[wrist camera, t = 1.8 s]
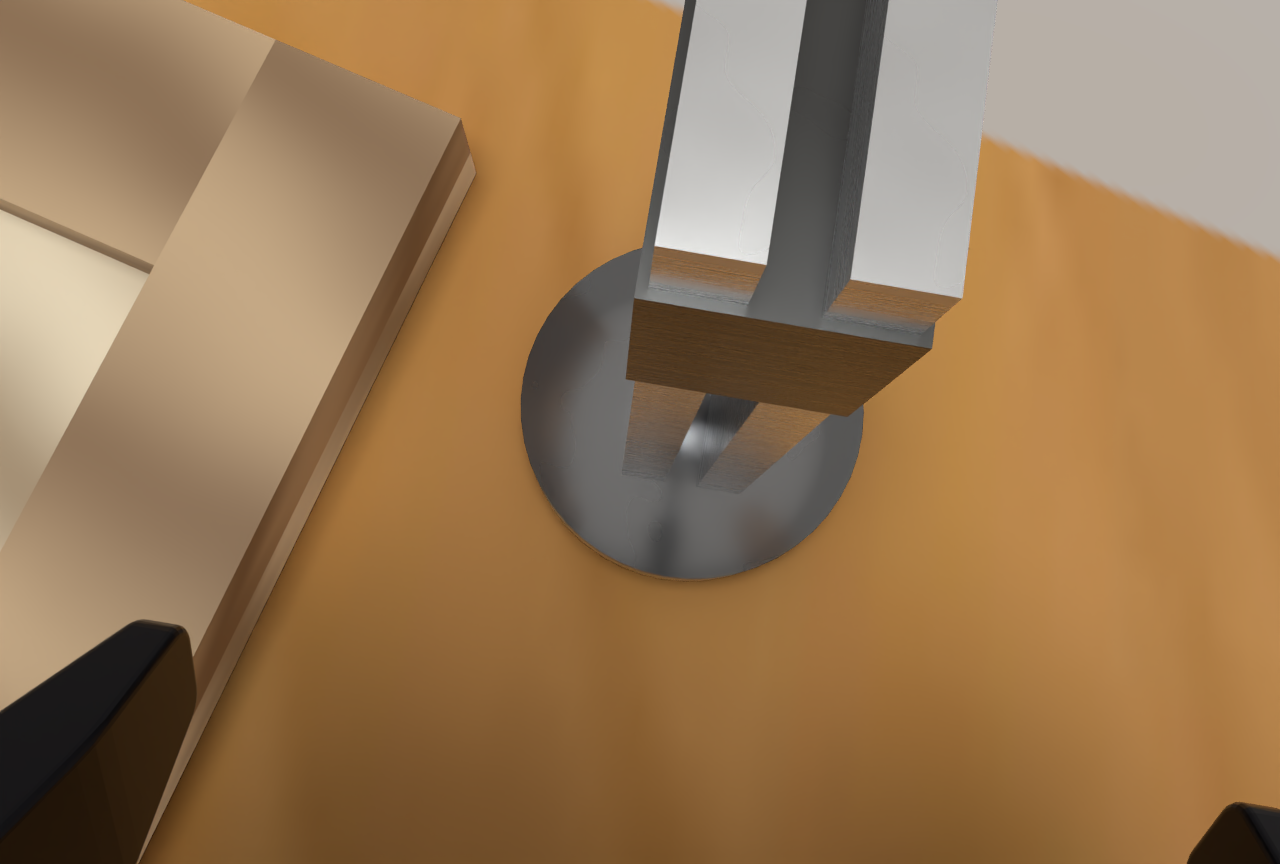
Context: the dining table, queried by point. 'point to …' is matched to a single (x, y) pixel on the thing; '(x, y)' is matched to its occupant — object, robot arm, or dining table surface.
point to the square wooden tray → (187, 315)
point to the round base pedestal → (764, 280)
